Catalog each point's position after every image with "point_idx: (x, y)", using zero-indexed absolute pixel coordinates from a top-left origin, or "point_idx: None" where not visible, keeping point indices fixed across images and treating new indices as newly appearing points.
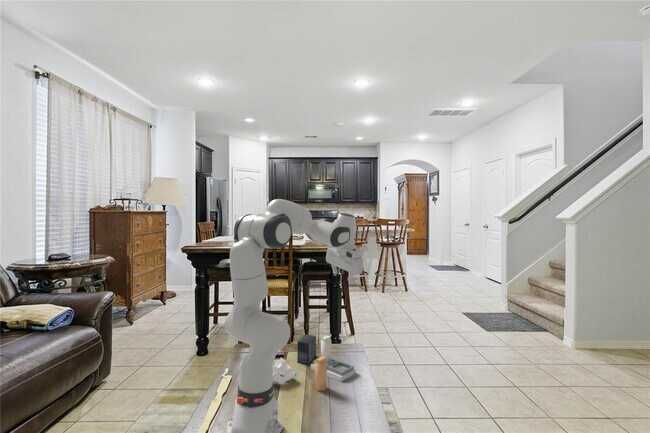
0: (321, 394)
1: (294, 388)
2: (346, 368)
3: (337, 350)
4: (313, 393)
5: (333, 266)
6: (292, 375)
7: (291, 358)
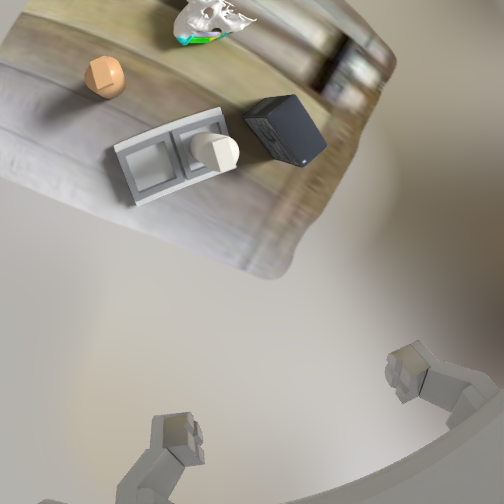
0: None
1: (147, 30)
2: (150, 183)
3: (273, 225)
4: None
5: (465, 395)
6: (176, 30)
7: None
